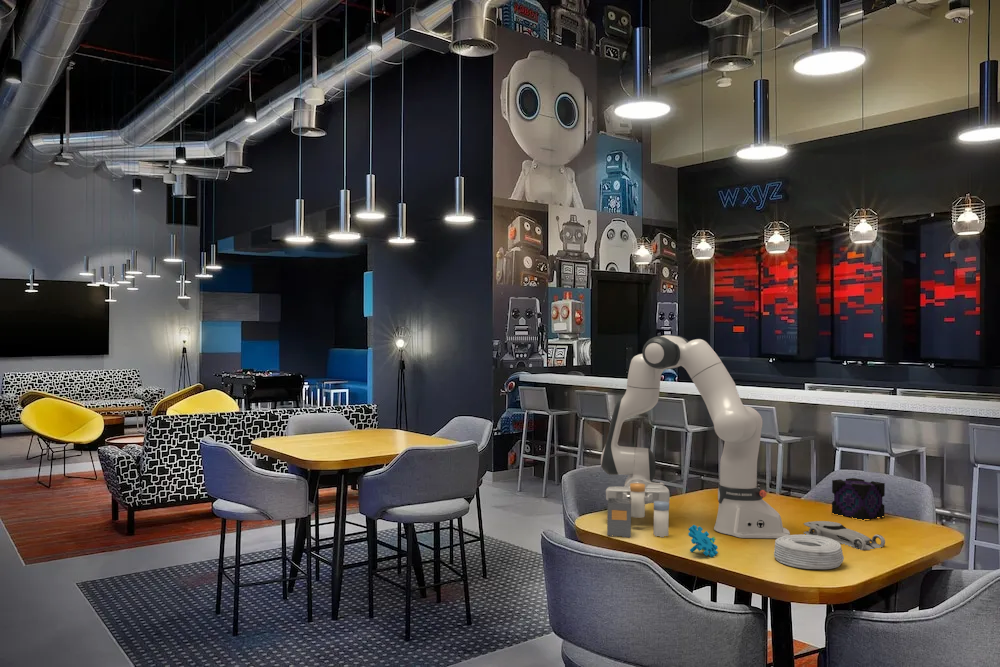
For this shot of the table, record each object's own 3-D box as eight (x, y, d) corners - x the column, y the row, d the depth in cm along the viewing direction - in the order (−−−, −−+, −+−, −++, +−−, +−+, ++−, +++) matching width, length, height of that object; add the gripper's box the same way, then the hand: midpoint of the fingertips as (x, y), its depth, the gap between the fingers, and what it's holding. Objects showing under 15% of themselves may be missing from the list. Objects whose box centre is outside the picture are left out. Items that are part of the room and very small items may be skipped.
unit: (630, 531, 240) (631, 498, 241) (630, 537, 232) (631, 504, 232) (608, 529, 242) (608, 497, 242) (607, 536, 233) (607, 502, 233)
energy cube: (853, 511, 279) (853, 477, 280) (884, 517, 269) (884, 483, 269) (831, 514, 273) (832, 480, 274) (863, 521, 263) (863, 485, 263)
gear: (704, 554, 208) (685, 523, 214) (690, 567, 211) (671, 535, 217) (727, 554, 215) (708, 523, 221) (713, 566, 218) (694, 535, 224)
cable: (834, 556, 216) (834, 535, 216) (851, 574, 199) (852, 550, 199) (768, 552, 219) (769, 531, 219) (780, 569, 202) (780, 546, 202)
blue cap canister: (667, 534, 238) (668, 501, 238) (669, 537, 233) (669, 504, 233) (652, 533, 238) (653, 500, 239) (653, 536, 234) (654, 503, 234)
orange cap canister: (644, 514, 246) (644, 483, 247) (645, 517, 242) (645, 485, 242) (630, 514, 247) (630, 482, 248) (630, 517, 243) (630, 485, 243)
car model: (864, 552, 222) (864, 535, 222) (794, 534, 243) (794, 518, 243) (888, 548, 227) (888, 531, 227) (818, 530, 248) (818, 515, 248)
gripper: (605, 480, 259) (604, 487, 246) (668, 482, 256) (670, 489, 242) (605, 499, 259) (604, 507, 246) (668, 501, 256) (670, 510, 242)
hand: (637, 498), depth 244 cm, fingers closed on orange cap canister, 4 cm apart
